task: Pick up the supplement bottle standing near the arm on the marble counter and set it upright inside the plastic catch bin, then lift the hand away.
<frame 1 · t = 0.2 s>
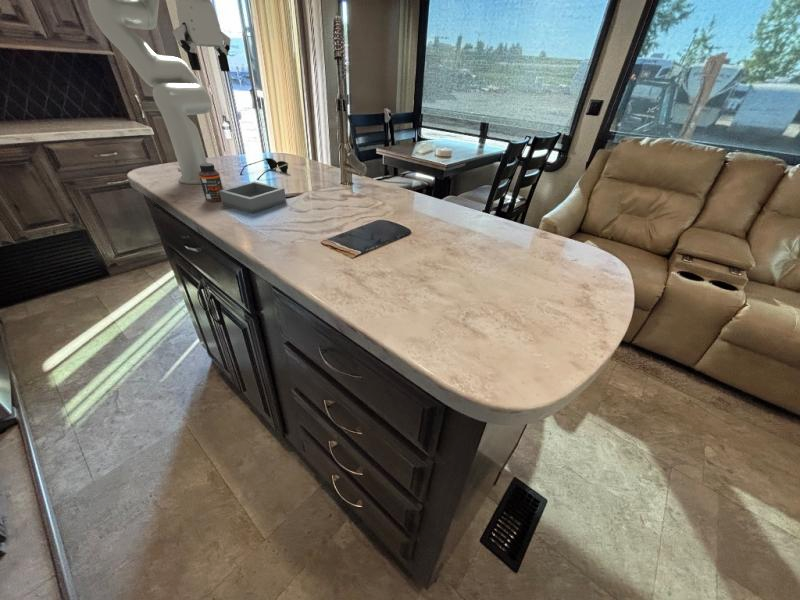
hand: (211, 70, 97), 36 cm above the worktop, tool pointing down, fingers open, 9 cm apart
sunglasses: (264, 175, 139), on the worktop
catch bin: (255, 203, 109), on the worktop
supplement bottle: (216, 200, 110), on the worktop
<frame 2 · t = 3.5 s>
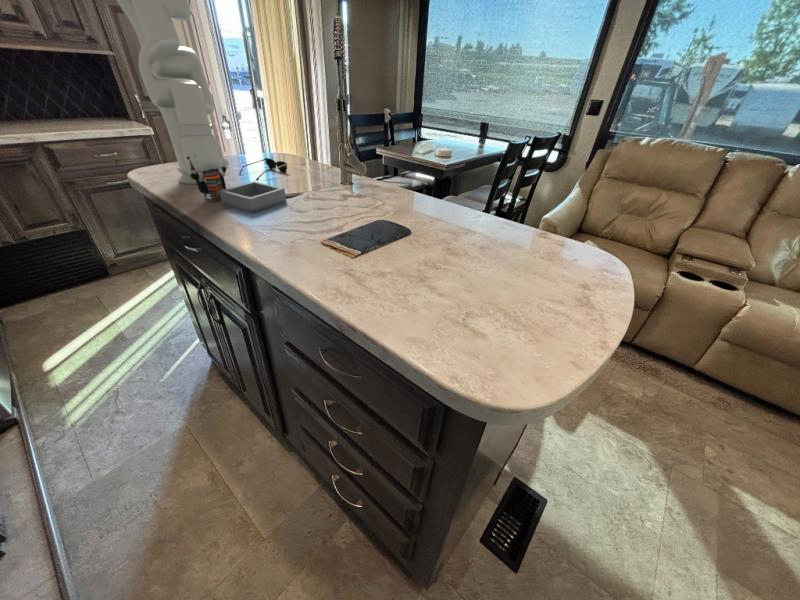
hand: (213, 190, 108), 3 cm above the worktop, tool pointing down, fingers closed on supplement bottle, 6 cm apart
supplement bottle: (216, 200, 110), on the worktop, touching gripper
everything else where it was.
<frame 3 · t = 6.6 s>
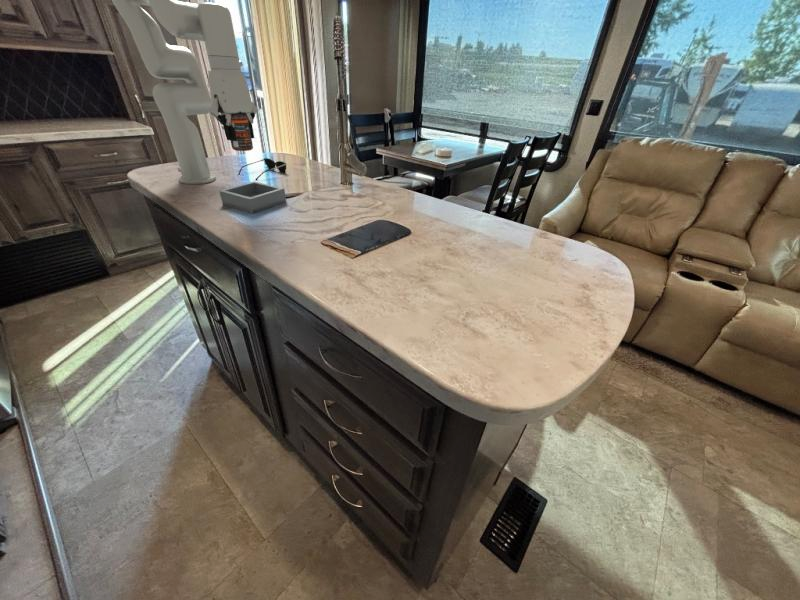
hand: (240, 138, 98), 20 cm above the worktop, tool pointing down, fingers closed on supplement bottle, 6 cm apart
supplement bottle: (243, 150, 100), point 16 cm above the worktop, touching gripper
everything else where it was.
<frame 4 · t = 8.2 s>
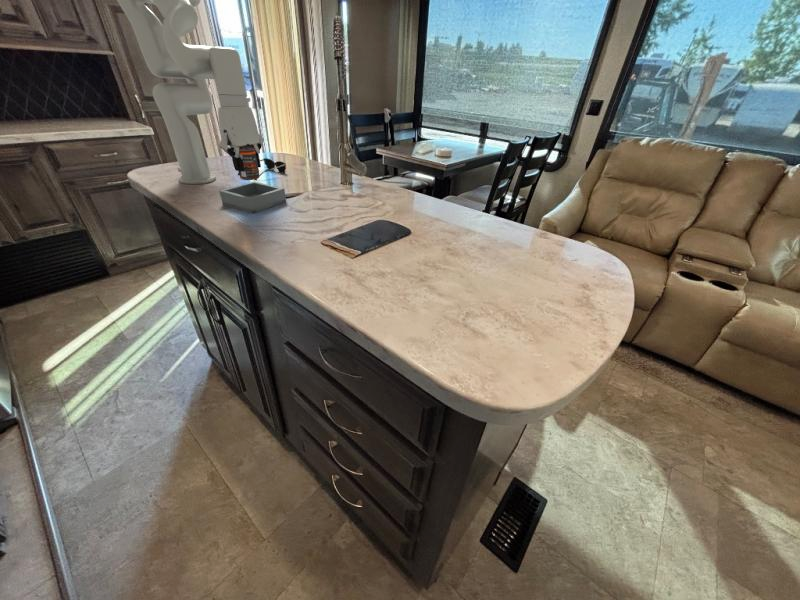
hand: (248, 168, 103), 11 cm above the worktop, tool pointing down, fingers closed on supplement bottle, 6 cm apart
supplement bottle: (250, 178, 104), point 8 cm above the worktop, touching gripper
when the fingers open (5 cm above the worktop, at t = 9.7 s): supplement bottle drops 1 cm, resting on catch bin.
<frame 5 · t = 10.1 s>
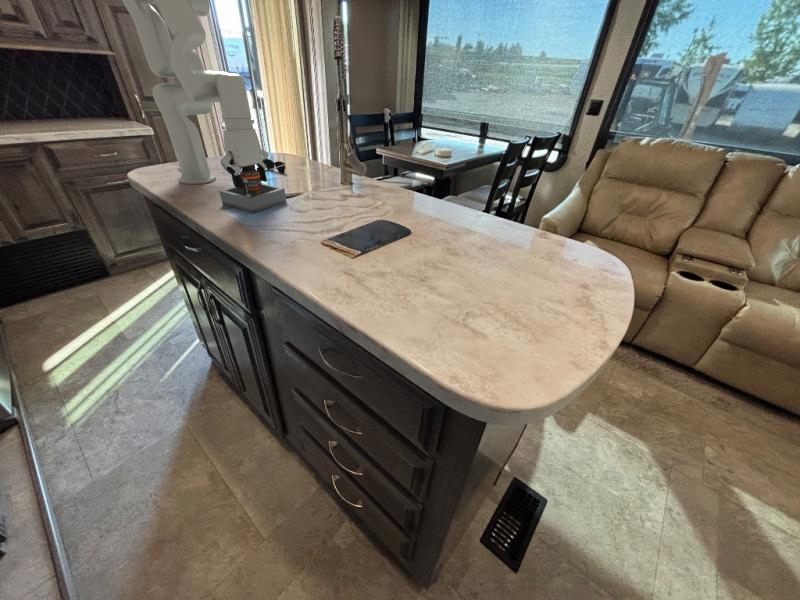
hand: (251, 184, 105), 6 cm above the worktop, tool pointing down, fingers open, 9 cm apart
supplement bottle: (255, 200, 109), point 1 cm above the worktop, touching catch bin
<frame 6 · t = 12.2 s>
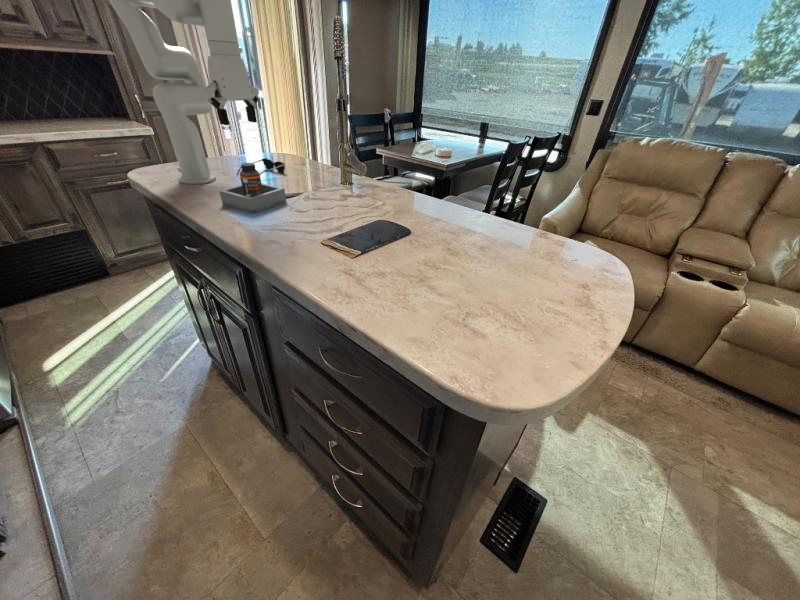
hand: (239, 123, 97), 24 cm above the worktop, tool pointing down, fingers open, 9 cm apart
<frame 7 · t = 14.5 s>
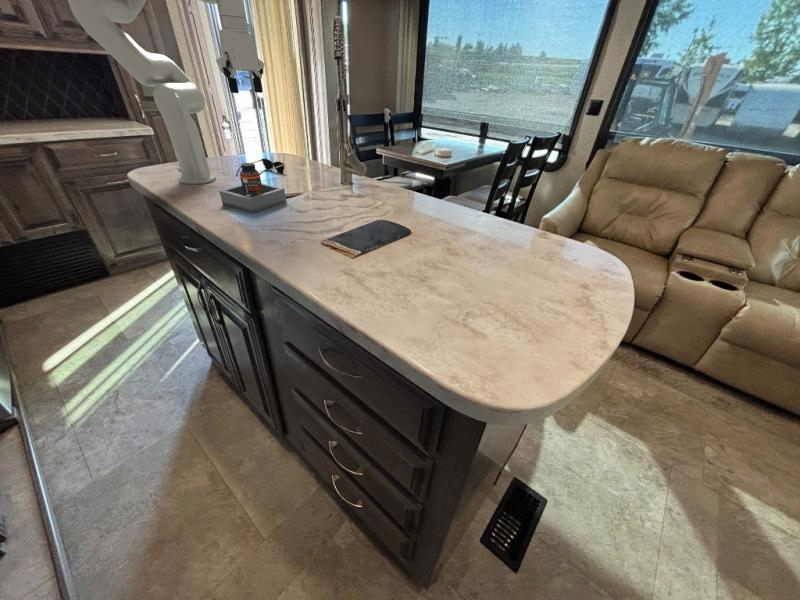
hand: (247, 92, 108), 30 cm above the worktop, tool pointing down, fingers open, 9 cm apart
at the end: supplement bottle inside the target area on the catch bin (0.3 cm from its centre), point 0.8 cm above the catch bin's base; supplement bottle tilted 0°; the gripper is holding nothing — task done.
